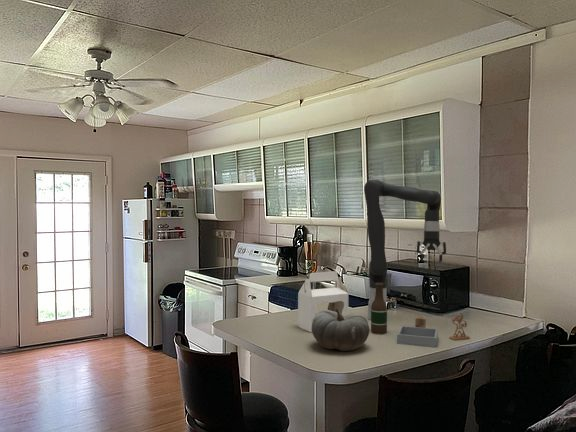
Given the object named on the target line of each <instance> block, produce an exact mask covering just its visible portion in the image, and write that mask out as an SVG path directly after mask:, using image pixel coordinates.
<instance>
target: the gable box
mask: <svg viewBox="0 0 576 432" xmlns="http://www.w3.org/2000/svg"><path fill="white" fill-rule="evenodd" d="M307 277H308V278H306V279H304V283H303V284H302V286H301V288H300V289H299V291H298V295H297V327H298V328H300V329H302V330H304V331H307V332H309V333H311V334H313V333H312V322H313V319H314V317H315V316H316V315H317V314H318V311H317V305H319V304H321V303H328V306H327V310H331V311H335V309H336V308H337V309H338V311H339V312H340V313H341V314H342V315H343V316H346V315H348V314H349V292H348V290H347V288H346V287H345V285H344V282H343V281H342V277H341V276H338V271H336V270H332V271H317V272H310V273H309V274H307ZM327 281H334V287H328V288H327V287H325V288H315V289H313V288H312V283H314V282H316V283H317V282H327ZM335 312H336V311H335Z"/></svg>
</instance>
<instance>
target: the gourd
mask: <svg viewBox="0 0 576 432" xmlns="http://www.w3.org/2000/svg"><path fill="white" fill-rule="evenodd" d="M335 311H336V312H335ZM335 311H331V310H328V309H322V310H320V311H319V312H317V315H316V316H315V317H314V319H313V322H312V333H311V334H312V336H313V337H314V339H315V340H316V342H317V343H318V344H319V345H320V346H321V347H322V348H325V349H328V350H335V349H336V350H339V351H341V352H349V351H350V352H351V351H355V350H357V349H358V348H360V347H362V346H363V345H364V344H365V342H366V341H367V339H369V334H370V331H371V328H370V325H369V323H368V319H367V318H366V317H365V316H364V315H362V314H360V313H355V312H354V313H348V315H346V316H343V315H342V314H341V313H340V312H339V311H338V309H337V308H336V309H335Z"/></svg>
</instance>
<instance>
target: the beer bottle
mask: <svg viewBox="0 0 576 432" xmlns="http://www.w3.org/2000/svg"><path fill="white" fill-rule="evenodd" d="M387 329H388V306H387V302H386V303H385V301H384V299H383V283H376V293H375V300H374V301H373V302H372V305H371V319H370V331H371V333H372V334H375V335H385V334H387V332H388V330H387Z"/></svg>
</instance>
